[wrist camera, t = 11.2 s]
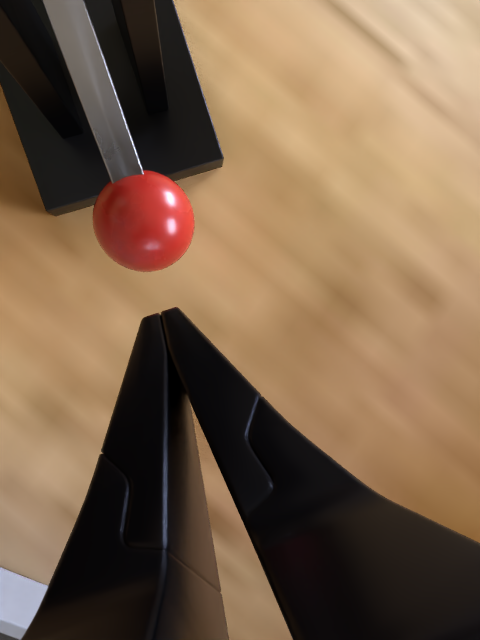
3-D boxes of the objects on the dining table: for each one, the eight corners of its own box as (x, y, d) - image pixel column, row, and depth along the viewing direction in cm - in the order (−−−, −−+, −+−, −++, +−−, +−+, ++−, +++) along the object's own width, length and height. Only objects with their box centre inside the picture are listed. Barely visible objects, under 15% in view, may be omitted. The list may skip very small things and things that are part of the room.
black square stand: (222, 166, 20) (253, 14, 10) (55, 216, 20) (-116, 111, 9) (157, -36, 20) (111, -446, 9) (-20, 8, 19) (-305, -385, 8)
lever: (198, 239, 17) (213, 267, 14) (117, 265, 17) (114, 300, 14) (83, -141, 12) (66, -232, 9) (-44, -114, 11) (-109, -199, 8)
